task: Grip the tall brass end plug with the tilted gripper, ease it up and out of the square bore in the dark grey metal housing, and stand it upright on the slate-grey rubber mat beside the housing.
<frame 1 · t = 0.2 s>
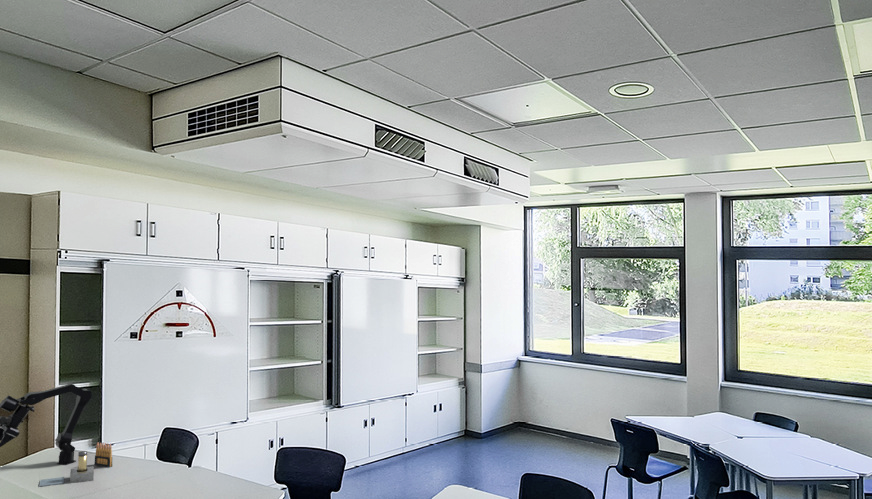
metal housing: (81, 478, 311), on the table
rubber mat: (51, 482, 305), on the table
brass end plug: (82, 465, 311), in the metal housing
ammunition clip: (103, 466, 332), on the table
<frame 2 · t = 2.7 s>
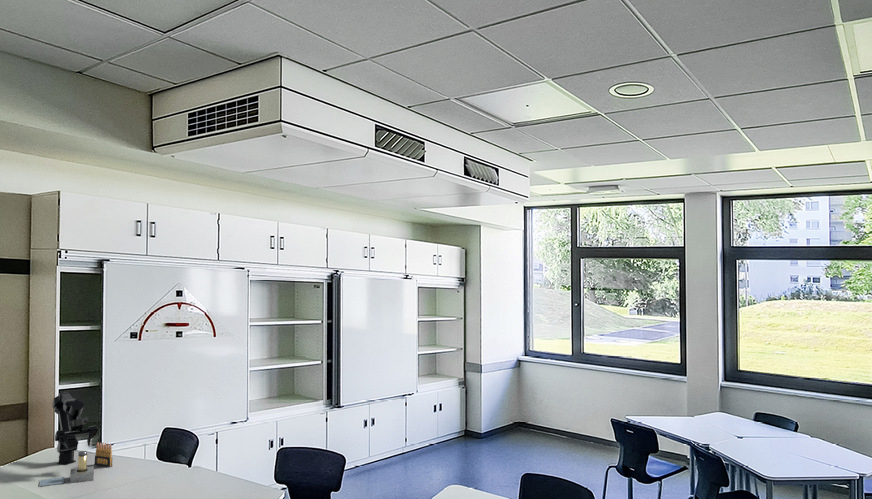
hand: (78, 447, 317), 14 cm above the table, tool tilted 45°, fingers open, 9 cm apart
nothing on the table moved.
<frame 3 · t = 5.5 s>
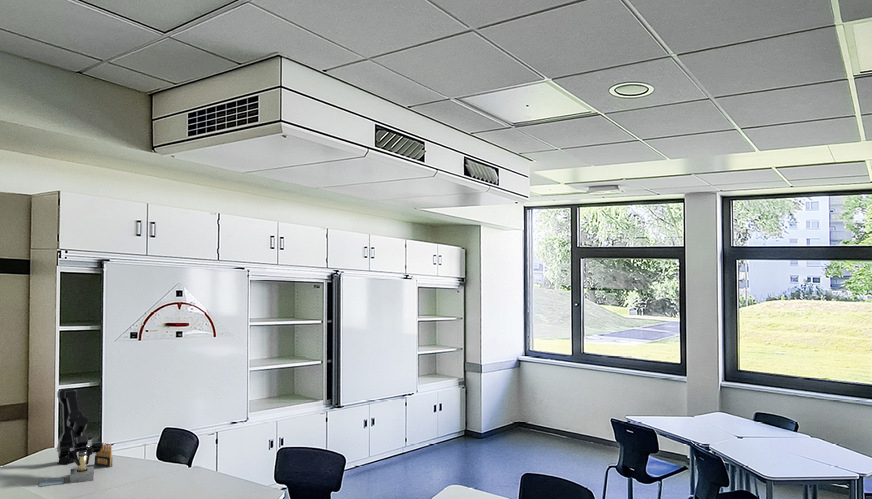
hand: (83, 464, 310), 7 cm above the table, tool tilted 45°, fingers closed on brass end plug, 4 cm apart
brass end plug: (82, 465, 311), in the metal housing, touching gripper
everything else where it was.
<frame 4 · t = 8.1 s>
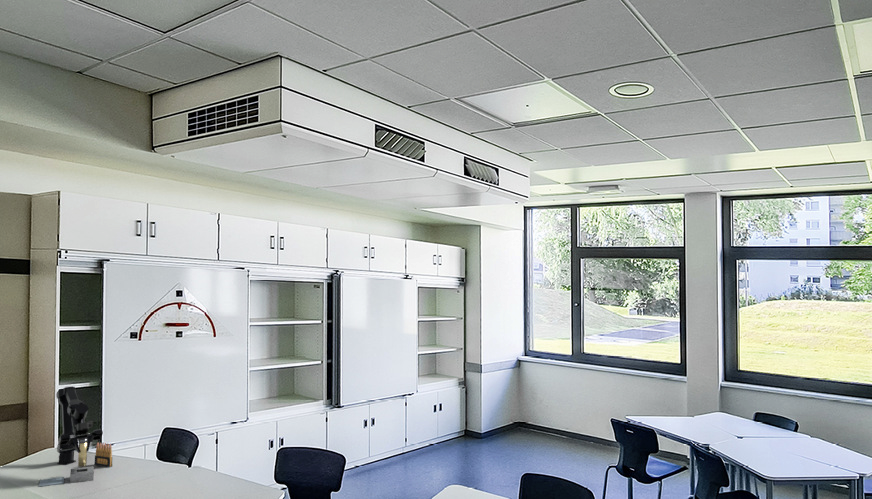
hand: (83, 451, 310), 13 cm above the table, tool tilted 45°, fingers closed on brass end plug, 4 cm apart
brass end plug: (82, 452, 311), point 13 cm above the table, touching gripper
everything else where it was.
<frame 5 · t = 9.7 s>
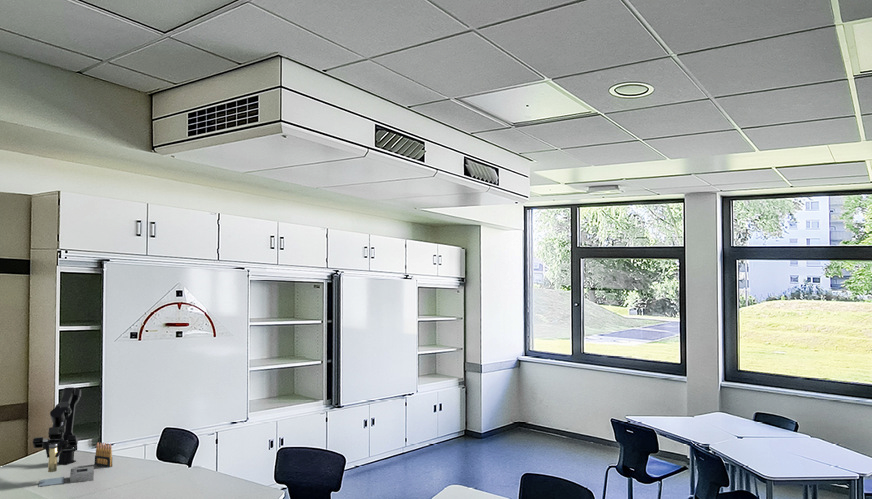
hand: (52, 457, 304), 12 cm above the table, tool tilted 45°, fingers closed on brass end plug, 4 cm apart
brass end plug: (52, 457, 305), point 12 cm above the table, touching gripper
everything else where it was.
when the fingers open (8 cm above the table, at t = 10.7 s): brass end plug stays where it is, resting on rubber mat.
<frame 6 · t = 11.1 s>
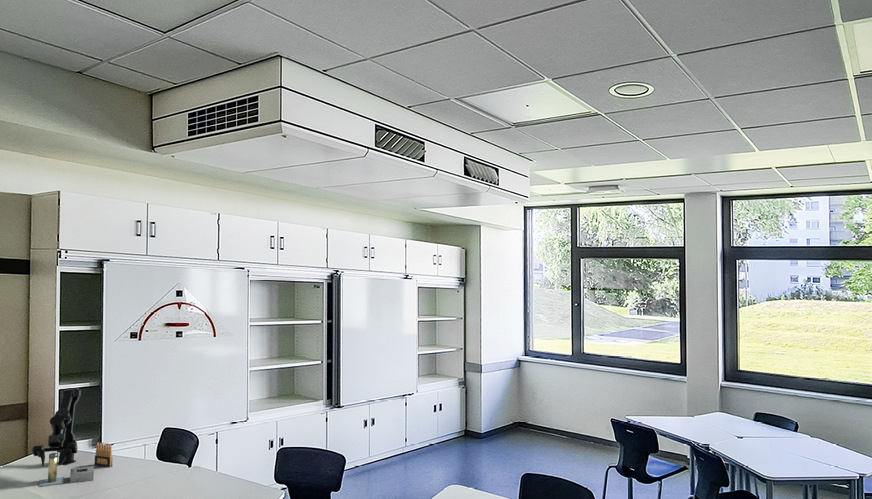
hand: (51, 465, 304), 9 cm above the table, tool tilted 45°, fingers open, 7 cm apart
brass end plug: (52, 467, 305), on the rubber mat
everything else where it was.
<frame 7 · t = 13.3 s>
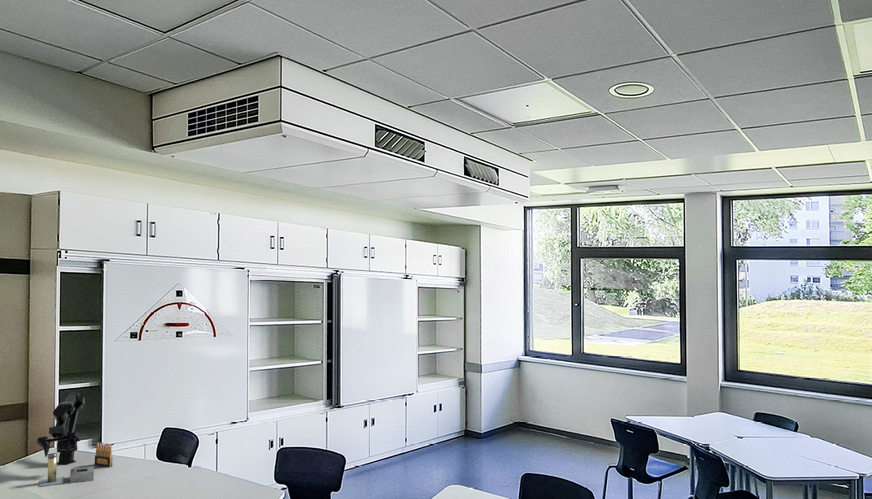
hand: (55, 455, 314), 11 cm above the table, tool tilted 40°, fingers open, 9 cm apart
nothing on the table moved.
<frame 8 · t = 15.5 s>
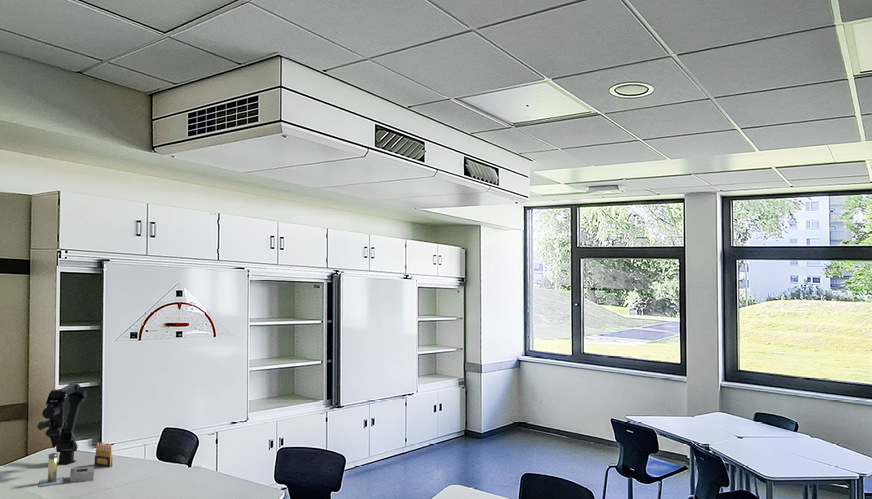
hand: (56, 444, 323), 13 cm above the table, tool pointing down, fingers open, 9 cm apart
nothing on the table moved.
at the end: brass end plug 0.1 cm off-centre on the rubber mat, point 6.9 cm above the rubber mat's base; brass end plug tilted 2°; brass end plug moved 12.7 cm from its start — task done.
